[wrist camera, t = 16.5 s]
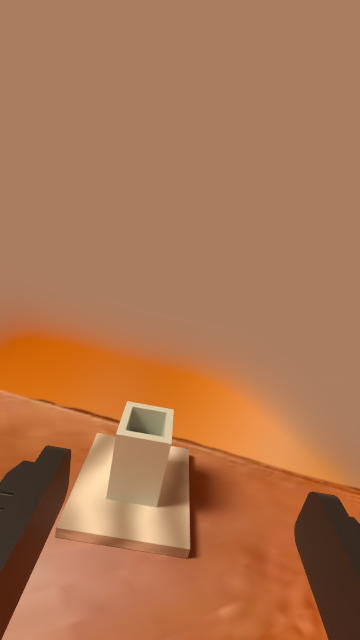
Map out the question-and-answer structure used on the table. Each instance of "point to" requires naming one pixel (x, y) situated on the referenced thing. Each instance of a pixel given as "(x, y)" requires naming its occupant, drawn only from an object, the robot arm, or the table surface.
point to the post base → (129, 507)
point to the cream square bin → (140, 454)
